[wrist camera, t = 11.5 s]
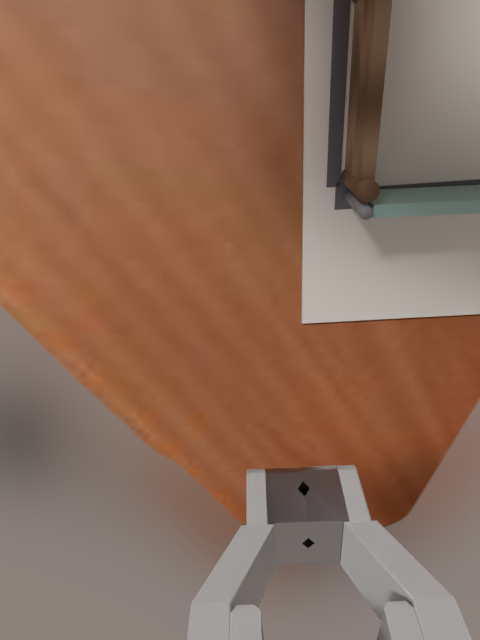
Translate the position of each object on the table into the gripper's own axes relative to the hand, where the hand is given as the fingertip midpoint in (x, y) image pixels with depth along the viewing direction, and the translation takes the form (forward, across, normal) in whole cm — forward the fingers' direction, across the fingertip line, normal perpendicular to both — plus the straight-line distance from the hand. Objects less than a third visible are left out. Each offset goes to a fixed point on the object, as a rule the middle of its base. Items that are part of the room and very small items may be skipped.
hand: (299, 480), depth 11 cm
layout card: (+29, -14, -2) cm, 32 cm away
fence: (+29, -8, -8) cm, 31 cm away
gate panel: (+28, -14, 0) cm, 31 cm away
